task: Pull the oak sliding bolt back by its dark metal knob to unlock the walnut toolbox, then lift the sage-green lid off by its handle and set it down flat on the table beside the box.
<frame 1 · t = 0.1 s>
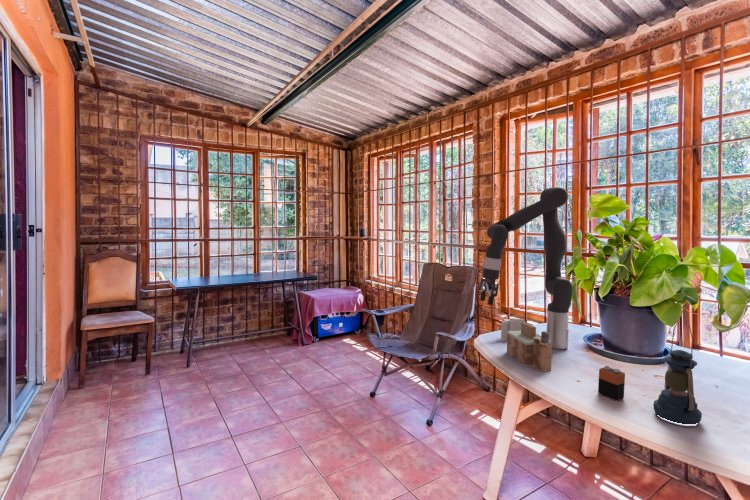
hand: (486, 302, 181), 22 cm above the table, tool pointing down, fingers open, 8 cm apart
lantern: (676, 418, 122), on the table
bolt: (541, 336, 162), point 13 cm above the table, slide at 0.0 cm
toolbox: (527, 358, 172), on the table
lid: (527, 340, 172), point 8 cm above the table, touching toolbox
battery: (610, 396, 137), on the table
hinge: (512, 340, 198), on the table
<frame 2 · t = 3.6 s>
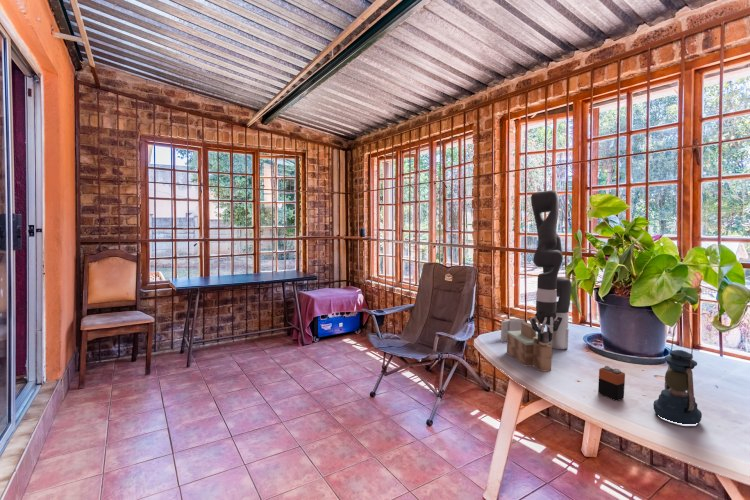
hand: (544, 341, 159), 12 cm above the table, tool pointing down, fingers closed on bolt, 3 cm apart
bolt: (541, 336, 162), point 13 cm above the table, slide at 0.0 cm, touching gripper
everything else where it was.
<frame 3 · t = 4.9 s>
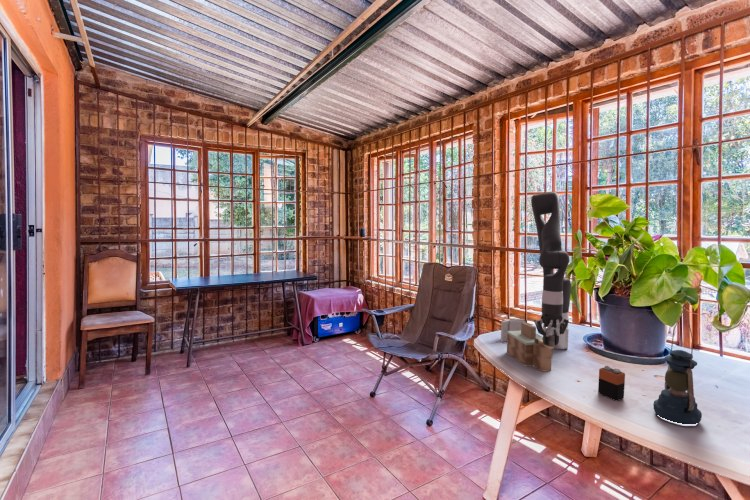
hand: (550, 344, 155), 12 cm above the table, tool pointing down, fingers open, 3 cm apart
bolt: (546, 339, 158), point 13 cm above the table, slide at 4.0 cm
everything else where it was.
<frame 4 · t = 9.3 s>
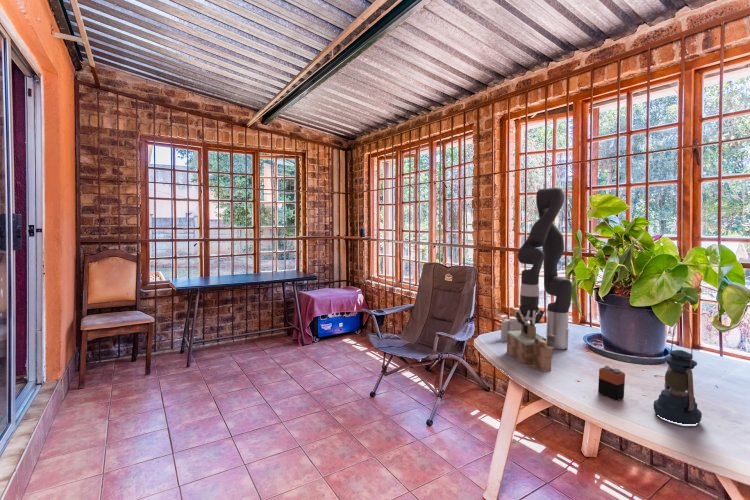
hand: (528, 333, 171), 11 cm above the table, tool pointing down, fingers closed on lid
lid: (528, 340, 172), point 8 cm above the table, touching gripper, toolbox
everything else where it was.
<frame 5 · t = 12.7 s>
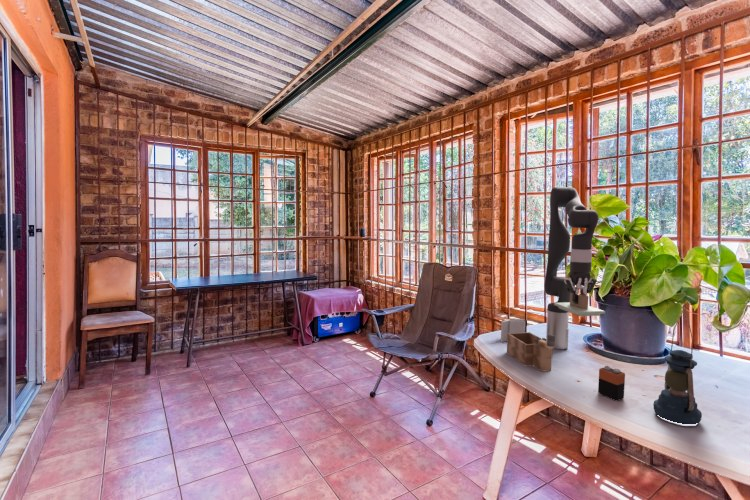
hand: (578, 303, 158), 27 cm above the table, tool pointing down, fingers closed on lid
lid: (578, 311, 158), point 24 cm above the table, touching gripper
everything else where it was.
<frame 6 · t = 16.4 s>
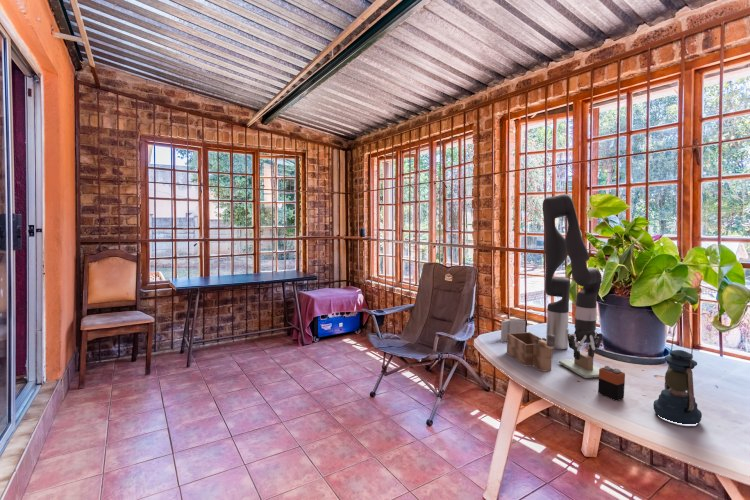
hand: (583, 358, 159), 5 cm above the table, tool pointing down, fingers open, 5 cm apart
lid: (583, 371, 159), on the table
everything else where it was.
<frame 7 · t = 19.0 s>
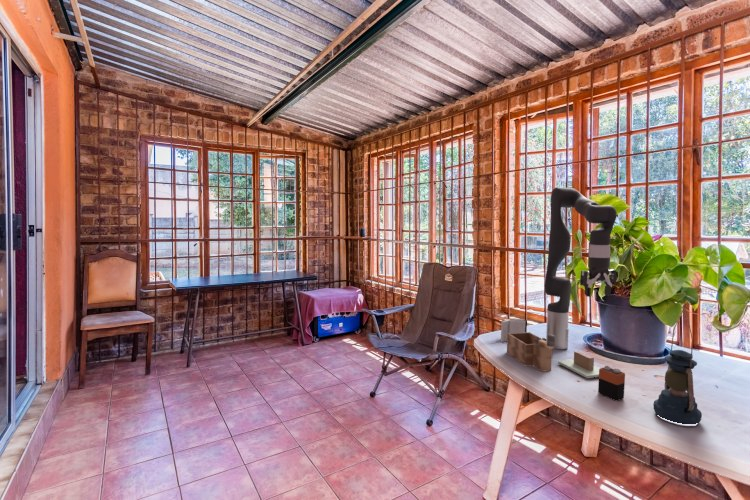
hand: (597, 295, 158), 30 cm above the table, tool pointing down, fingers open, 8 cm apart
nothing on the table moved.
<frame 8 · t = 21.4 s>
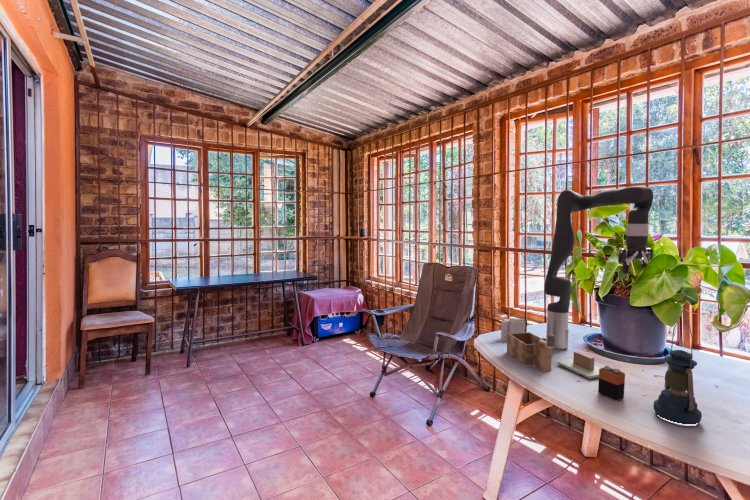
hand: (634, 273, 165), 38 cm above the table, tool pointing down, fingers open, 8 cm apart
nothing on the table moved.
at the end: bolt slide at 4.0 cm; lid inside the target area (0.4 cm from its centre), on the table; lid touching table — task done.
